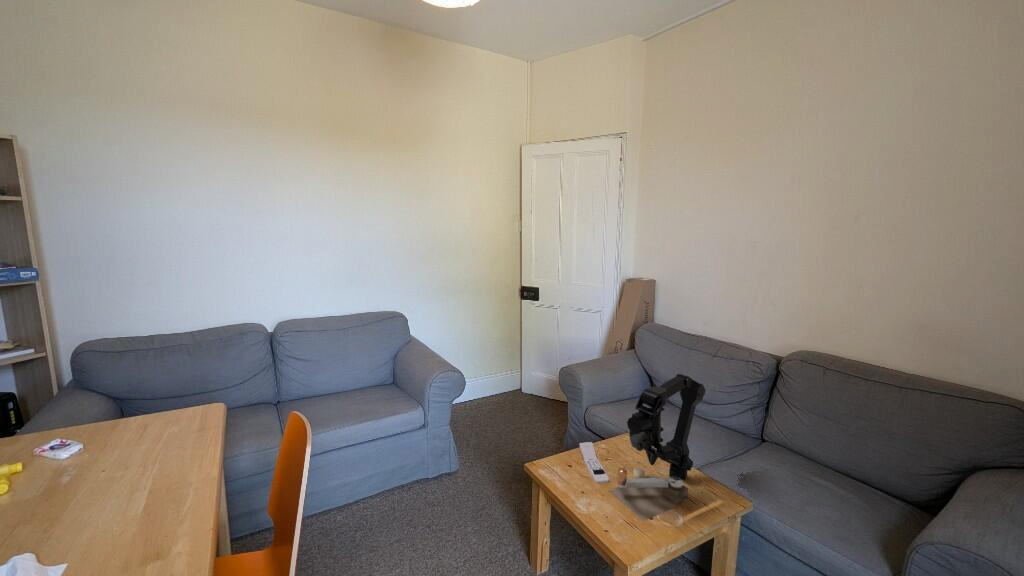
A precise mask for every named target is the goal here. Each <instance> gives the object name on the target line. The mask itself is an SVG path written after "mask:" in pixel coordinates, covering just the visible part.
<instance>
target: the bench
mask: <svg viewBox="0 0 1024 576" xmlns="http://www.w3.org/2000/svg"><path fill="white" fill-rule="evenodd" d="M644 478H658V476H656V475H655V474H653V473H650V474H648V475H645V477H644ZM607 491H608V493H610V494H611V495H612V496H613V497H614V498H616V499H617V500H618V501H619V502H620V503H622V505H624V506H625V507H626V508H627V509H629V510H630V511H631V512H632V513H633V514H635V515H636V516H637V517H638V518H640V520H642V521H643V522H645V521H647V520H650V519H651V518H654V517H656V516H658V515H660V514H662V513H665V512H667V511H668V510H671V509H673V508H675V507H679V505H680V506H681V505H682V504H685V503H687V502H688V501H690V499H689V498H688V497H689V495H688V493H689V487H688V486H686V485H684V484H683V488H682V489H680V490H676V489H672V488H671V487H669V486H668V487H650V488H620V486H619V485H618V486H617V487H614V488H612V489H609V490H607Z"/></svg>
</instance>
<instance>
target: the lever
mask: <svg viewBox="0 0 1024 576" xmlns="http://www.w3.org/2000/svg"><path fill="white" fill-rule="evenodd" d="M627 471H628V470H627V469H626V468H625V467H619V468H617V484H618V487H619V486H620V488H650V487H668V486H669V487H671V488H672V489H676V490H680V489H682V488H683V485H684V480H682V479H681V478H679V477H677V476H670V477H669V476H668V477H667V478H668V479H667V478H666V477H662V478H661V477H657V478H633V477H631V478H628V476H627V475H628V472H627Z"/></svg>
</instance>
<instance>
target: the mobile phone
mask: <svg viewBox="0 0 1024 576" xmlns="http://www.w3.org/2000/svg"><path fill="white" fill-rule="evenodd" d="M579 448H580V450H581V453H582V456H583V457H582V458H583V460H584V466H585V467H587V470H588V472H589V474H590V476H591V478H592V479H593V481H594V482H595V484H605V483H608V482H610V477H609V476H608V474H607V472H606V470H605V468H604V467H603V466H602V464H601V462H600V461H599V459H598V458H597V456H596V451H595V446H594V443H593V442H592V441H590V442H589V441H586V442H580V443H579Z"/></svg>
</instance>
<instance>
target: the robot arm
mask: <svg viewBox="0 0 1024 576" xmlns="http://www.w3.org/2000/svg"><path fill="white" fill-rule="evenodd" d="M677 393H679V396H680V399H681V407H680V410H679V414H678V418H677V423H676V426H675V430H674V434H673V438H672V439H671V440H670V441H667V442H666V443H665V444H663V442H664V438H662V437H661V436H662V435H661V434H662V433H661V432H664V427H663V426H662V412H664V411H665V408H664V407H665V406H666V405H667V401H668V399H669V398H671V397H673V396H674V395H675V394H677ZM705 395H706V388H705V387H704V384H703V383H700V382H697V381H696V380H694V379H693V378H692V377H690V376H689V375H686V374H682V373H676V374H675V376H674V377H673V378H671V379H669V380H667V381H665V382H664V383H662V384H661V385H659V386H650V387H647V388H645V389H643V391H642V392H641V394H640V395H639V398H638V401H637V403H636V405H635V408H634V409H635V410H636V411H637V412H634V413H632V414H631V417H629V418H628V420H627V421H626V422H627V423H626V425H627V428H628V430H629V435H628V436H629V440H630V444H631V446H632V448H634V449H635V450H637V451H638V452H641V451H643V450H644V451H645V453H646V456H647V459H648V462H649V464H650V466H654V465H655V463H656V462H657V460H658V458H659V459H660V460H661V461H663V462H666V463H669V470H668V471H669V472H668V473H669V475H668V478H669V477H670V476H677V477H679V478H681V479H682V480H683V481H685V480H686V479H687V477H688V471H689V472H690V471H692V468H693V466H694V461H693V460H692V459H691V458H690V449H689V445H688V441H689V437H690V436H689V435H690V431H691V428H692V427H691V426H692V423H693V419H694V415H695V410H696V407H697V405H699V404H700V403H701V402H702V401H703V399H704V396H705ZM647 406H648V407H647Z"/></svg>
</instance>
